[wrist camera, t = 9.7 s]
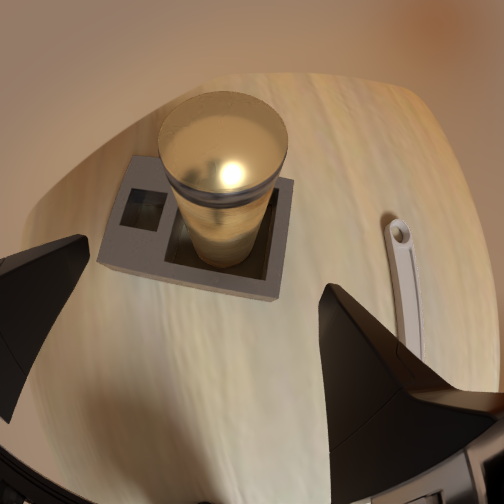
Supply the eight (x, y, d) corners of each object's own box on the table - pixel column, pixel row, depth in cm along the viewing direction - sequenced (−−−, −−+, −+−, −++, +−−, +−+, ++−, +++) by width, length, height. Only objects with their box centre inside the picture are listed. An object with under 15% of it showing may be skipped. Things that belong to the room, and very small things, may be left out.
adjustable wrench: (377, 223, 24) (387, 216, 22) (425, 228, 24) (435, 222, 22) (371, 475, 17) (380, 482, 15) (421, 457, 18) (430, 461, 16)
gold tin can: (226, 281, 20) (228, 219, 8) (179, 240, 21) (131, 142, 9) (267, 234, 22) (313, 132, 10) (220, 197, 22) (220, 77, 10)
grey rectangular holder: (112, 269, 20) (96, 261, 17) (142, 173, 22) (133, 155, 19) (270, 302, 20) (278, 298, 17) (285, 197, 23) (293, 179, 20)
